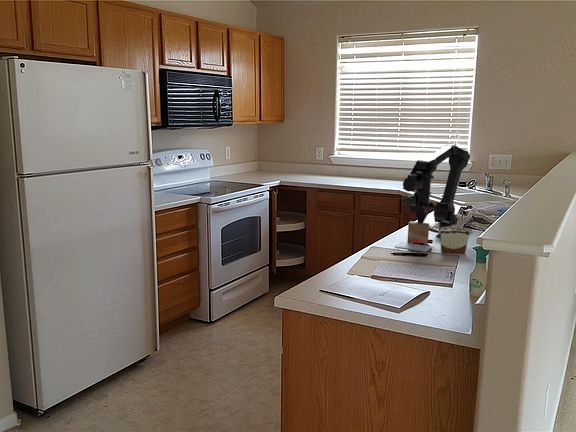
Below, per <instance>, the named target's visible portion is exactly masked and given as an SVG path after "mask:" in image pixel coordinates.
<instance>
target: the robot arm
mask: <svg viewBox="0 0 576 432" xmlns="http://www.w3.org/2000/svg"><path fill="white" fill-rule="evenodd" d="M447 159H448V161H447V162H448V164H449V173H448V174H447V175H448V176H447V180H446V183H445V188H444V191H443V194H442V199H440V200H439V201H437V202H436V203H435V202H434V200H431V199H430V197H431V195H432V192H431V187H432V186H431V185H432V184H431V183H432V180H433V179H435V176H434V175H433V173H434V172H435V171H436V170H437V169H438V166H439V164H441V163H443V162H444V161H446V160H447ZM470 159H471V154H470V153H469V151H468V150H465V149H463V148H461V147H458V146H457V145H456V144H445V145H443V147H440V149H439V150H436V151H435V152H433V153H432V154H431V155H429V156H425V157H422V158H418V160H416V162H415V164H414V165H413V168H412V169H411V172H410V173H409V174H407V177H406V178H405V179H404V180H403V182H402V187H403V189H404V191H405V192H413V194H412V195H408V194H405V195H403V196H402V198H401V199H400V200H401V201H400V202H401V203H402V206H407V205H410V204H411V205H410V206H409V207H408V212H409V213H415V214H416V215H415V216H416V220H417V222H421V223H425V220H426V219H427V216H428V215H429V213H430V211H431V209H428V207H429V208H432V209H433V219H434V222H435V223H438V230H437V231H438V233H437V234H436V235H435V237H436V238H440V234H439V231H440V228H442V227H453V226H456V225H457V224H458V221H459V219H458V217H457V215H456V213H455V212H456V208H455V207H456V206H455V204H454V200H455V197H456V195H457V194H456V192H457V189H458V186H459V182H460V179H461V176H462V175H461V173H462V171H463V170H465V168H466V167H467V166H468V164H469V161H470Z"/></svg>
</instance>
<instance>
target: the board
mask: <svg viewBox="0 0 576 432" xmlns="http://www.w3.org/2000/svg"><path fill="white" fill-rule="evenodd" d="M394 248H397V249H404V250H409V251H410V250H411V251H417V252H418V251H419V252H425V253H427V252H428V251H430V249H431V248H433V245H420V244H413V243H407V242H405V241H401V242H398V244H397V245H395V246H394Z"/></svg>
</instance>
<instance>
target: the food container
mask: <svg viewBox="0 0 576 432" xmlns="http://www.w3.org/2000/svg"><path fill="white" fill-rule="evenodd" d="M439 234H440V237H439V238H440V240H439V241H440V254H441V255H455V256H456V255H458V256H460V255H461V256H465V255H466V252H467V251H466V250H467V246H468V242H469V238H470V237H469V236H471V230H470V229H468V228H465V227H459V226H452V227H442V228H440V231H439Z"/></svg>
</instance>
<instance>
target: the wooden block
mask: <svg viewBox="0 0 576 432" xmlns="http://www.w3.org/2000/svg"><path fill="white" fill-rule="evenodd" d="M407 227H408V228H407V240H406V241H407V242H406V243H411V241H413V240H417V241H421V242H423V243H424V244H425V245H427V241H428V242H429V235H430V233H429V232H430V223H427V222H423V223H421V222H418V221H412V220H410V221H409V222H408V226H407Z"/></svg>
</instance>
